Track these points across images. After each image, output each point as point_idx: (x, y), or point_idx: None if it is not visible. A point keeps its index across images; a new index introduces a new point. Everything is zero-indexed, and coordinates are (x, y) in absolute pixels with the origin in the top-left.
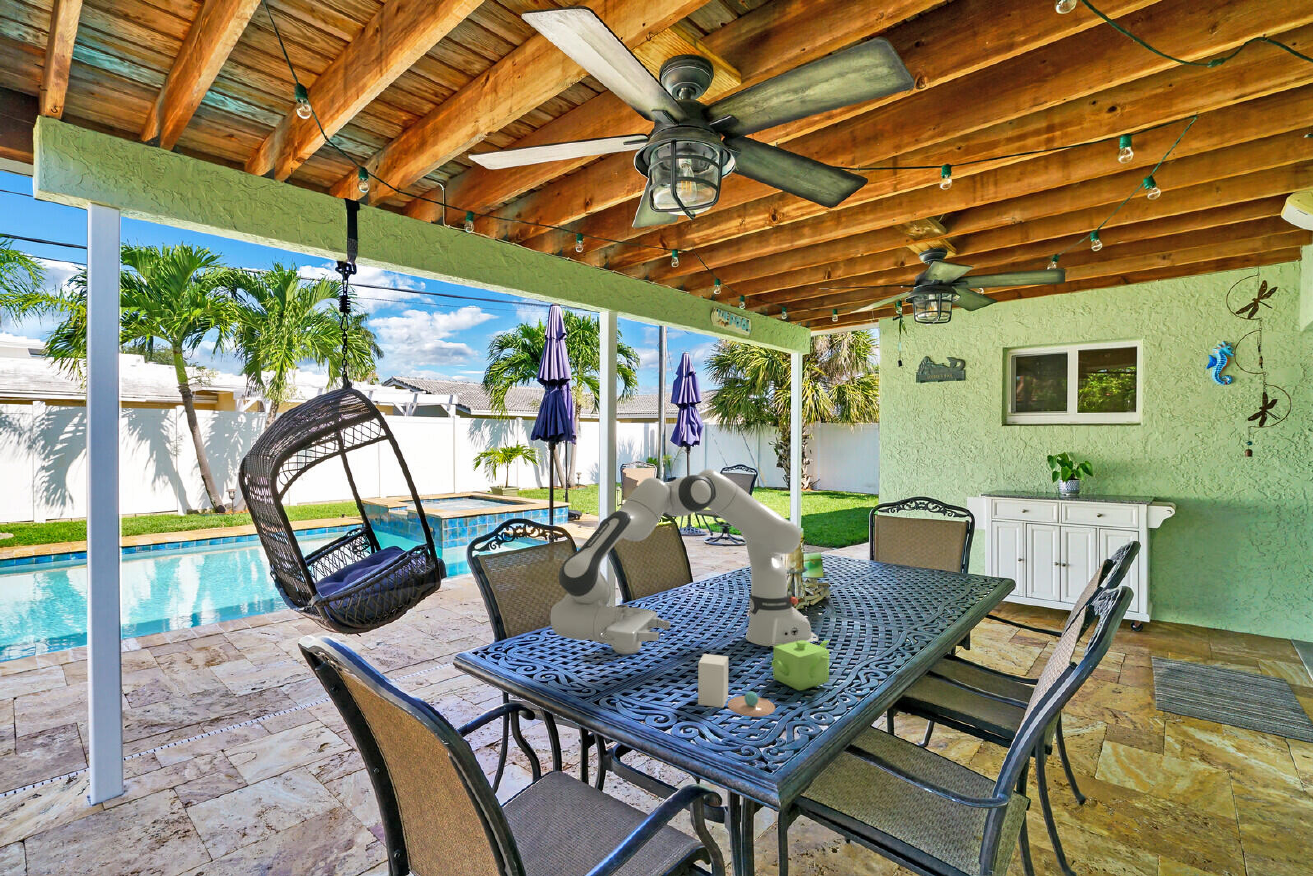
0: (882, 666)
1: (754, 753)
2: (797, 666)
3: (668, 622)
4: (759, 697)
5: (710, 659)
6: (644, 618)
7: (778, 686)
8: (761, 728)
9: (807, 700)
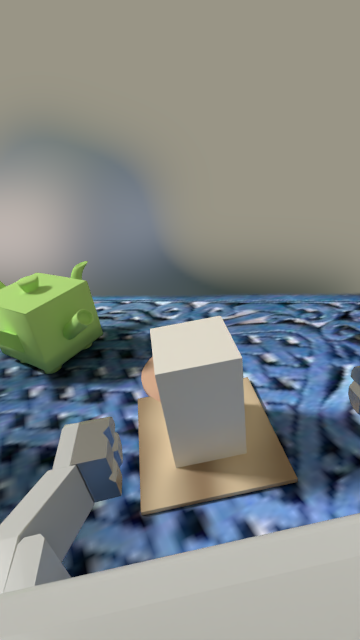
0: None
1: (340, 325)
2: (88, 299)
3: (93, 420)
4: (143, 370)
5: (196, 346)
6: (186, 627)
7: (66, 372)
8: (255, 341)
9: (118, 332)
